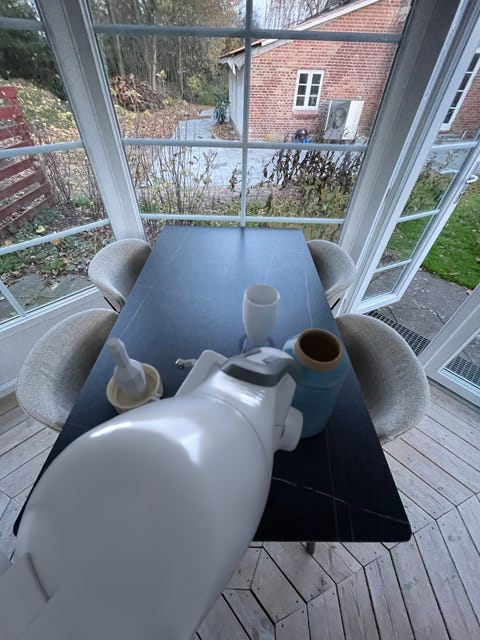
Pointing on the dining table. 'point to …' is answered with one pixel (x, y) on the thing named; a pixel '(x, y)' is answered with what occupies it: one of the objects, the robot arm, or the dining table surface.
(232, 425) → the robot arm
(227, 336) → the dining table surface
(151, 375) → the bowl
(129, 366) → the faceted bottle
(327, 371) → the vase
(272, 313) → the cup
